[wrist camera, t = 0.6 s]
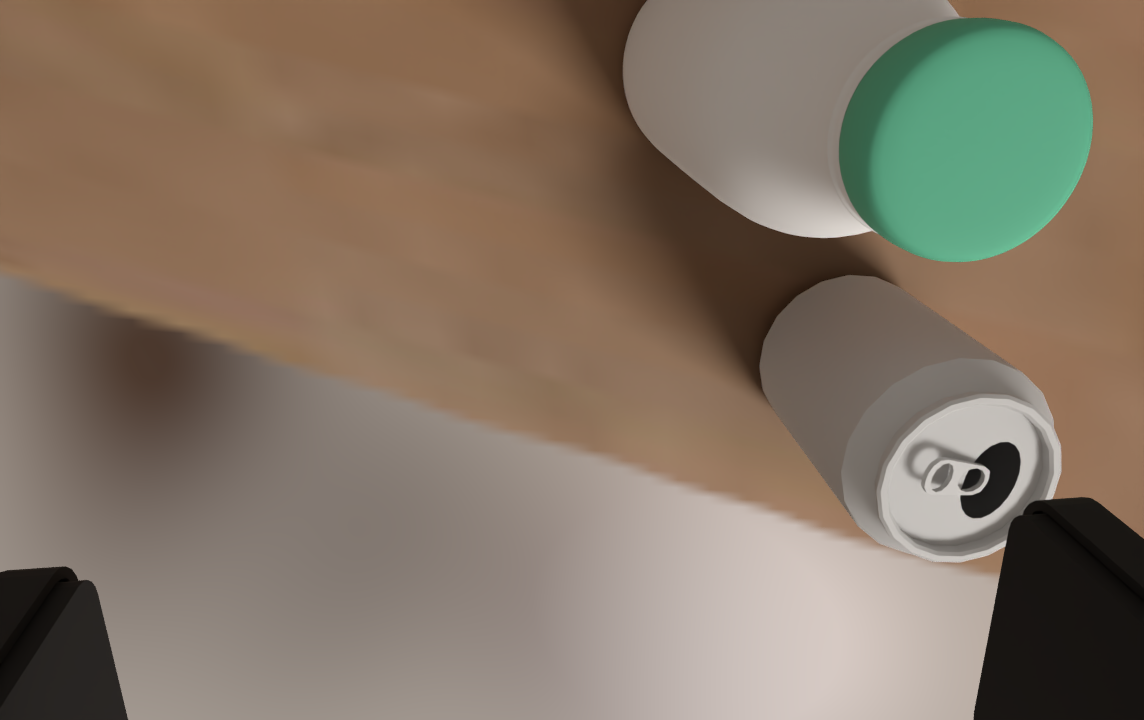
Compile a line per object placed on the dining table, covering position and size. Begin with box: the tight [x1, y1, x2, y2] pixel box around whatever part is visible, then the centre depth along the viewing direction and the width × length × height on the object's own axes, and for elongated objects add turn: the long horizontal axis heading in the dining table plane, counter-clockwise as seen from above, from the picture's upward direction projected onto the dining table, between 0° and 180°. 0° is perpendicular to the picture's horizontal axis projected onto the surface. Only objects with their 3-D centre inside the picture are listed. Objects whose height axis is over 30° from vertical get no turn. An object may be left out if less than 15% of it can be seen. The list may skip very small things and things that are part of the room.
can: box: [759, 275, 1061, 562], centre depth 35 cm, size 8×8×12 cm
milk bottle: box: [623, 0, 1093, 262], centre depth 27 cm, size 8×8×20 cm
